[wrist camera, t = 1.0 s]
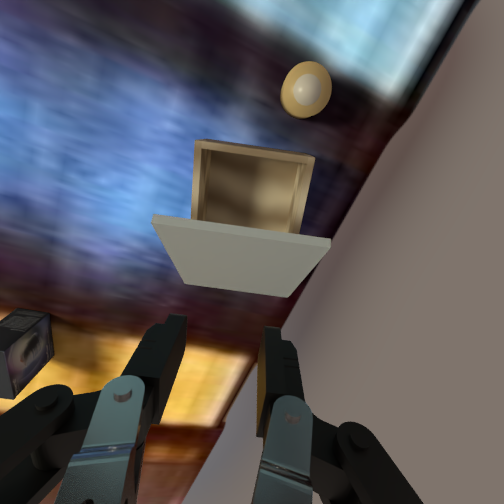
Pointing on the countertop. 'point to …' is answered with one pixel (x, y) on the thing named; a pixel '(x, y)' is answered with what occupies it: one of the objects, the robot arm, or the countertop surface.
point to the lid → (239, 255)
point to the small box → (23, 349)
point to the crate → (250, 185)
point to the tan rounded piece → (306, 90)
